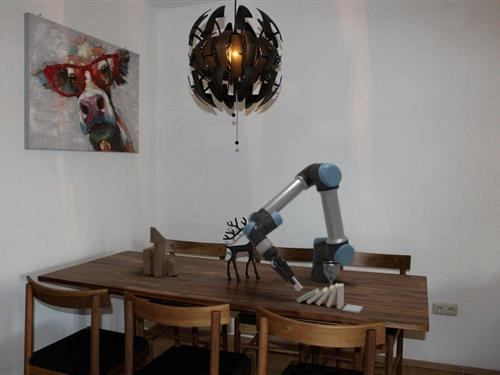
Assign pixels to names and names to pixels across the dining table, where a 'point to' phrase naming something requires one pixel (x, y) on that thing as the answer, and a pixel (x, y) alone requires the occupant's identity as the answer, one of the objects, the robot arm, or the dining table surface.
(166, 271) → the wooden blocks
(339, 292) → the domino
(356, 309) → the coaster
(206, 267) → the dining table surface
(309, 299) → the domino
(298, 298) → the domino
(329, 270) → the wine glass
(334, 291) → the domino
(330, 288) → the domino
